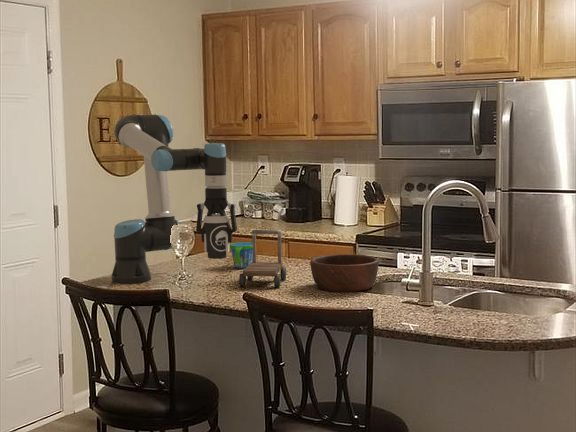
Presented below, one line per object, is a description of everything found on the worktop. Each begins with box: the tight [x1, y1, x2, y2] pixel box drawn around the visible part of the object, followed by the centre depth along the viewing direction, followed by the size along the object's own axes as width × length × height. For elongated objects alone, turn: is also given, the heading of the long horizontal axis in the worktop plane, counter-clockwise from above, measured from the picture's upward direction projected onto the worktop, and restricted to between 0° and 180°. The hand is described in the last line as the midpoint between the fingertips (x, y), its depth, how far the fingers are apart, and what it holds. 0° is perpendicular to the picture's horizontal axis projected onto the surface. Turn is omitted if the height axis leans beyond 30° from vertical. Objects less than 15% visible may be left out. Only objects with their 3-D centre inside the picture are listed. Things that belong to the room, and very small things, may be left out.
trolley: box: [238, 229, 287, 288], centre depth 290 cm, size 19×14×19 cm
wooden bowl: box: [309, 253, 380, 293], centre depth 282 cm, size 25×25×10 cm
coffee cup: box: [202, 213, 231, 260], centre depth 274 cm, size 10×10×15 cm
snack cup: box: [229, 241, 253, 270], centre depth 326 cm, size 16×10×10 cm
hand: (217, 251), depth 274 cm, fingers closed on coffee cup, 7 cm apart
